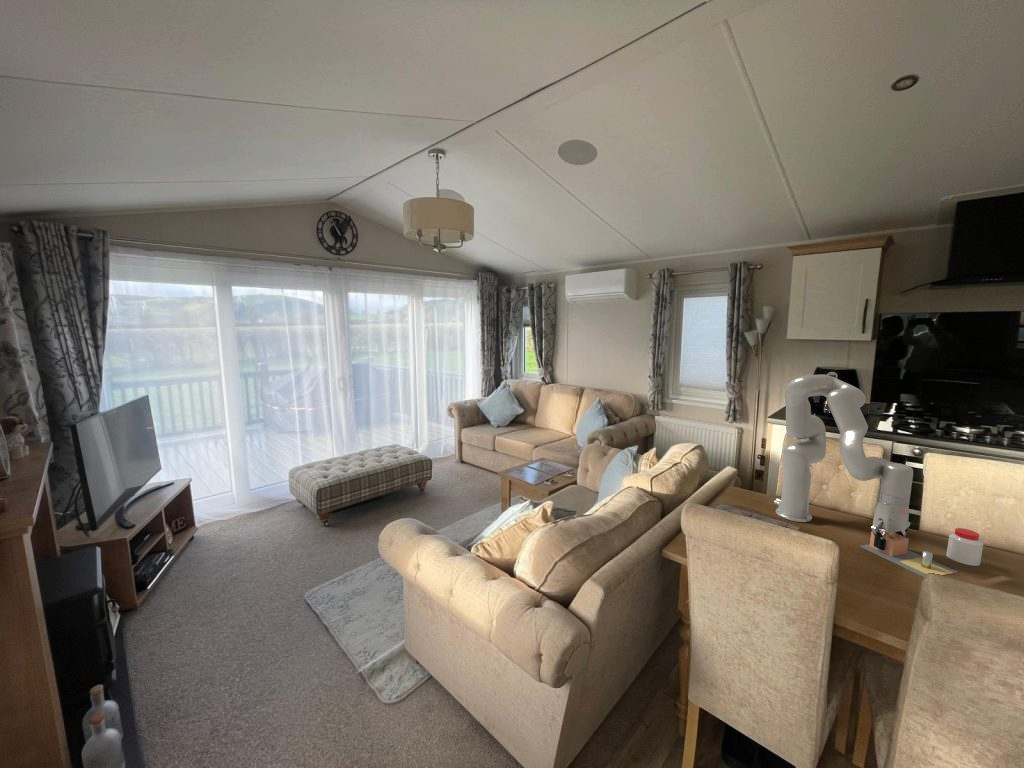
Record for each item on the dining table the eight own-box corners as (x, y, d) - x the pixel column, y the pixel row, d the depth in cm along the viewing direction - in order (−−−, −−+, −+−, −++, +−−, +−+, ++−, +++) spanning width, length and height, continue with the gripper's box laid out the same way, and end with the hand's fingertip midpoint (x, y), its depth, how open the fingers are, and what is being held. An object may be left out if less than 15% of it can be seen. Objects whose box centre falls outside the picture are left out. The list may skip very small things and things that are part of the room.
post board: (858, 549, 147) (860, 532, 147) (888, 544, 151) (890, 528, 150) (926, 581, 128) (928, 563, 127) (958, 575, 131) (960, 557, 131)
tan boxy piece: (869, 546, 147) (871, 531, 146) (884, 543, 149) (886, 529, 148) (891, 556, 140) (893, 541, 140) (906, 553, 142) (908, 538, 141)
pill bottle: (974, 571, 134) (979, 539, 132) (941, 559, 140) (946, 529, 139) (983, 565, 137) (988, 534, 136) (950, 554, 144) (955, 524, 143)
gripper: (900, 492, 148) (894, 538, 150) (863, 497, 144) (857, 544, 146) (925, 500, 141) (919, 549, 143) (887, 506, 136) (881, 555, 139)
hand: (888, 546), depth 144 cm, fingers open, 7 cm apart
